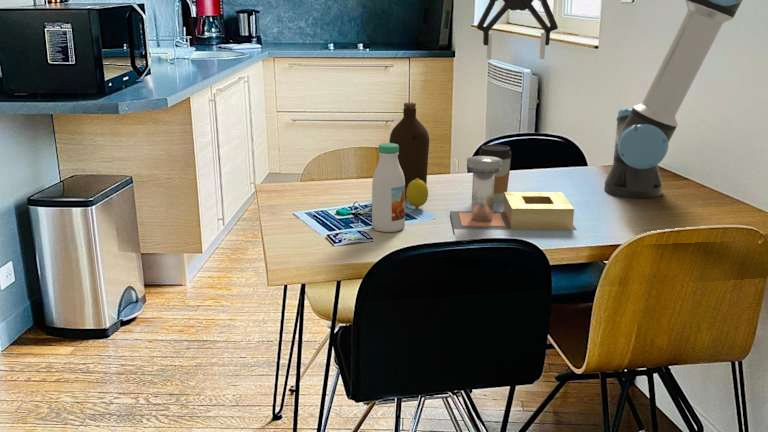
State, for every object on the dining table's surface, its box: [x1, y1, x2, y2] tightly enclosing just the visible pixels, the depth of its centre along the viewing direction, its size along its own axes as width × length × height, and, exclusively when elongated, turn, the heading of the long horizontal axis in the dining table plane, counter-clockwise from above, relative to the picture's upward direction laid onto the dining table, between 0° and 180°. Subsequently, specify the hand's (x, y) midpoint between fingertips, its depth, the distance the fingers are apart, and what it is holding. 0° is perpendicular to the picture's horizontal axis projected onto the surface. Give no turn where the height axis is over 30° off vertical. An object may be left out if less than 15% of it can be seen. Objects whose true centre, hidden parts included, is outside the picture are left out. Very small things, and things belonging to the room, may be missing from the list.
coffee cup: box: [478, 144, 513, 203], centre depth 195 cm, size 8×8×15 cm
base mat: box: [449, 210, 577, 236], centre depth 179 cm, size 28×14×2 cm, turn 89°
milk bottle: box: [371, 142, 406, 233], centre depth 175 cm, size 8×8×20 cm
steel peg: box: [466, 155, 502, 222], centre depth 177 cm, size 8×8×14 cm
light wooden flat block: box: [502, 191, 575, 231], centre depth 178 cm, size 14×14×5 cm
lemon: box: [406, 178, 429, 209], centre depth 192 cm, size 6×6×8 cm
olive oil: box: [389, 101, 430, 200], centre depth 202 cm, size 11×11×25 cm
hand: (515, 58), depth 194 cm, fingers open, 13 cm apart
